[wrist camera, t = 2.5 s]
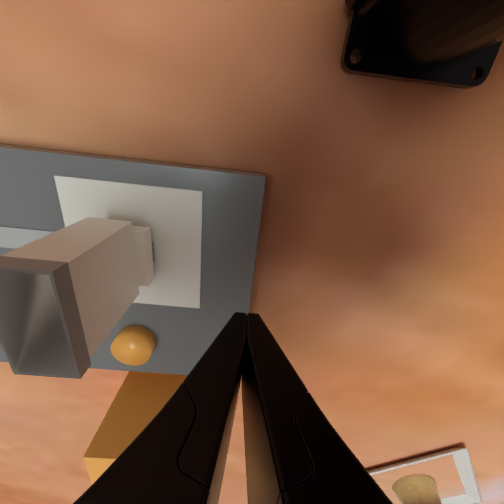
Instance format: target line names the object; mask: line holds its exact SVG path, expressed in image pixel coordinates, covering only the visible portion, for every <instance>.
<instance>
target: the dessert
mask: <svg viewBox="0 0 504 504" xmlns="http://www.w3.org/2000/svg"><path fill="white" fill-rule="evenodd" d="M451 454H452V456H453V459H454V461H455V464H456V467H457V470H458V473H459V475H460V478H461V481H462V484H463V487H464V489H465V492H466V494H464V495H459V496H455V497H450V498H446V499H440V496H439V493H438V490H437V487H436V483H435V480H434V478H433V477H431V476H429V475H425V474H413V475H408V476H405V477H402V478H400V479H399V480H397V481H396V482H395V483H394V484H393V486H392V489H393V491H394V492H395V494H396V495H397V497H398V498H399V500H400V501H401V503H402V504H476V503H480V502H482V498H481V495H480V491H479V488H478V484H477V481H476V477H475V474H474V470H473V466H472V463H471V459H470V456H469V452H468V449H467V448H451V449H447V450H443V451H440V452H436V453H432V454H428V455H424V456H421V457H417V458H413V459H409V460H405V461H402V462H398V463H394V464H390V465H386V466H383V467H379V468H375V469H371V470H367V472H368V473H369V474H370V475H373V474H377V473H381V472H385V471H389V470H393V469H397V468H400V467H404V466H408V465H412V464H416V463H420V462H424V461H427V460H431V459H435V458H439V457H443V456H447V455H451Z"/></svg>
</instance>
